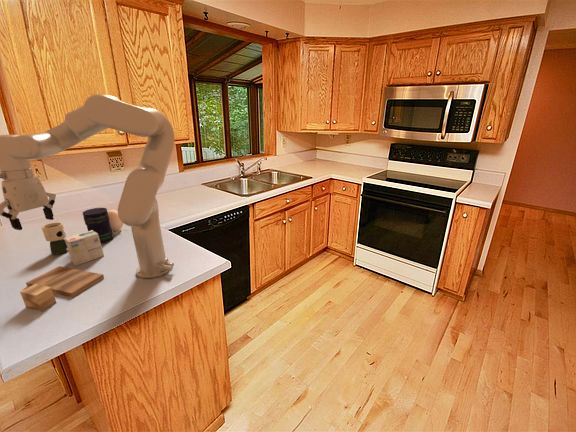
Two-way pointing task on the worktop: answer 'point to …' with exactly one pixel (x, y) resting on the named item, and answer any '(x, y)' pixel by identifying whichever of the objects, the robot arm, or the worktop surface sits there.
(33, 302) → the block
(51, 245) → the character mug
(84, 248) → the light bulb box
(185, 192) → the worktop surface
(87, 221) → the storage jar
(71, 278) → the board
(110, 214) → the egg
